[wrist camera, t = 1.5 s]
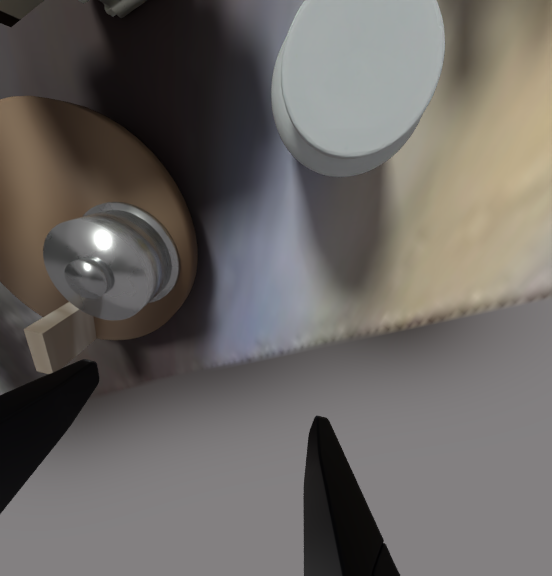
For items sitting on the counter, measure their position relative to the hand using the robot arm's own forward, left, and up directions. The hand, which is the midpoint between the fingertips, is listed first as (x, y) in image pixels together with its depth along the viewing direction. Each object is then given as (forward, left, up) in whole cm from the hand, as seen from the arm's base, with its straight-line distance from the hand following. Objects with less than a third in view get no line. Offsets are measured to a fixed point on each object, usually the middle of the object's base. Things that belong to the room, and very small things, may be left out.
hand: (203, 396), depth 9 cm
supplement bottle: (+2, +10, -12) cm, 16 cm away
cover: (-9, 0, -9) cm, 13 cm away
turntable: (-13, 0, -11) cm, 16 cm away
